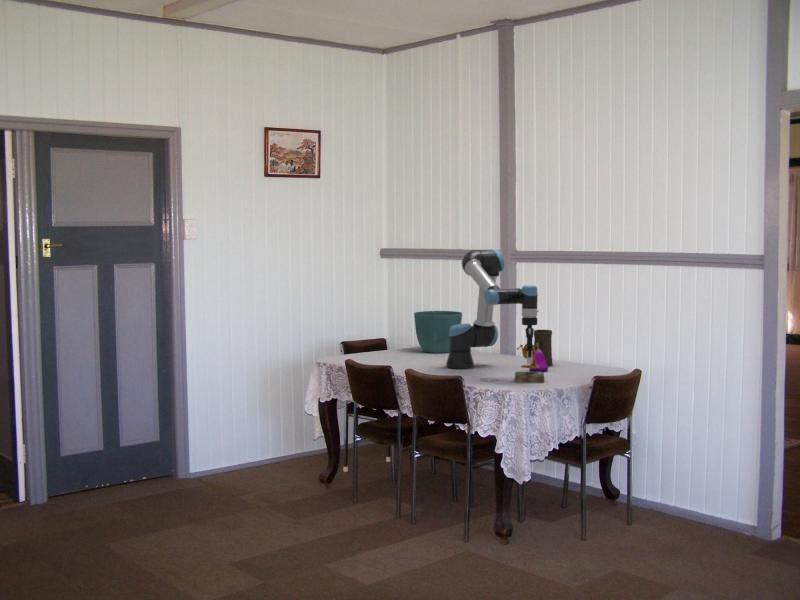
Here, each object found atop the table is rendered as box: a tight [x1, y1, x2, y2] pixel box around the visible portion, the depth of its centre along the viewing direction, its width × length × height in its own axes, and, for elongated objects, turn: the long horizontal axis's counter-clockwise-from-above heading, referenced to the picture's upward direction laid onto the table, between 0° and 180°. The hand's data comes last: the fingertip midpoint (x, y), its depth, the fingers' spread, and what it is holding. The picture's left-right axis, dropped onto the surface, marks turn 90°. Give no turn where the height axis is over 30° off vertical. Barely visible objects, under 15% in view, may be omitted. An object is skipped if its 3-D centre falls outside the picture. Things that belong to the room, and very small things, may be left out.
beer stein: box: [533, 329, 554, 368], centre depth 496 cm, size 15×11×20 cm
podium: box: [514, 371, 545, 384], centre depth 445 cm, size 14×14×3 cm
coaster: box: [479, 377, 499, 383], centre depth 445 cm, size 9×9×1 cm
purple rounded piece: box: [528, 343, 549, 372], centre depth 475 cm, size 11×11×15 cm
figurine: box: [516, 343, 539, 369], centre depth 446 cm, size 8×11×12 cm
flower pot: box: [413, 310, 463, 354], centre depth 558 cm, size 30×30×24 cm
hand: (529, 362), depth 444 cm, fingers closed on figurine, 9 cm apart
